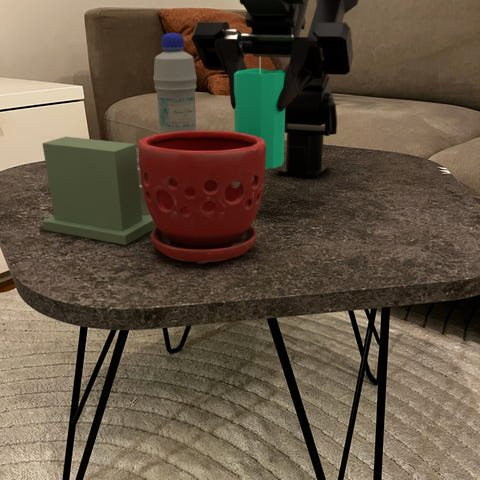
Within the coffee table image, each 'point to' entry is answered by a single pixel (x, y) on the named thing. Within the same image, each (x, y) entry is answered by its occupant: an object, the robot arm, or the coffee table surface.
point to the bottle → (175, 86)
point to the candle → (261, 109)
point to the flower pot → (202, 192)
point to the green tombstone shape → (96, 190)
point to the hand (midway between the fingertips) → (255, 108)
